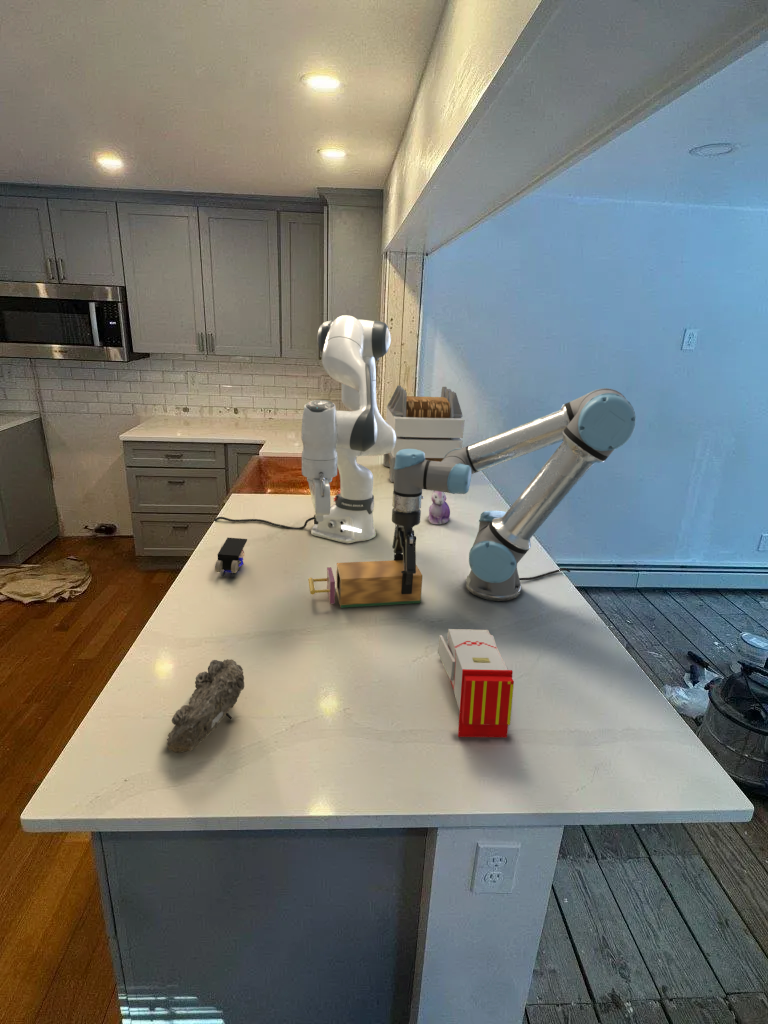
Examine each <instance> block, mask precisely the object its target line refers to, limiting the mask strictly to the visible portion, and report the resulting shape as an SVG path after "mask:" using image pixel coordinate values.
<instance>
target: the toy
mask: <svg viewBox="0 0 768 1024" xmlns="http://www.w3.org/2000/svg"><path fill="white" fill-rule="evenodd" d="M446 640H447V643H446V641H445V639H444V636H443V635H442V634H439V637H438V646H437V656H438V657H439V659H440V661H441V663H442V666H443V668H444V670H445V672H446V674H447V677H448V679H449V681H450V684H451V687H452V690H453V693H454V697H455V701H456V705H457V708H458V711H459V714H458V715H459V716H458V730H457V731H458V732H457V737H458V738H508V731H509V726H510V725H511V717H512V707H513V697H514V696H513V695H514V684H515V680H514V679H513V673H514V671H513V670H512V669H508V667H507V665H506V662H505V661H504V659H503V658H502V655H501V653H500V651H499V649H498V647H497V643H496V639H495V637H494V635H493V634H491V632H490V631H489V629H467V628H466V629H465V628H463V629H461V628H460V629H459V628H448V630H447V639H446Z"/></svg>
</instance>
